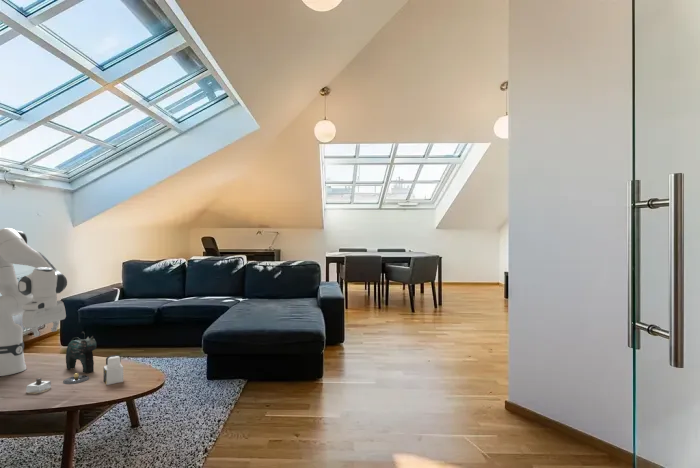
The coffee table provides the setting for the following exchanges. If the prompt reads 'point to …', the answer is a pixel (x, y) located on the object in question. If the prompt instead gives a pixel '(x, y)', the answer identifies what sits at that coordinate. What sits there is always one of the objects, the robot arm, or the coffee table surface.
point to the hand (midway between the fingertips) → (45, 333)
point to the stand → (38, 382)
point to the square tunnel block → (38, 387)
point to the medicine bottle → (113, 370)
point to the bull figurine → (81, 353)
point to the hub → (76, 379)
